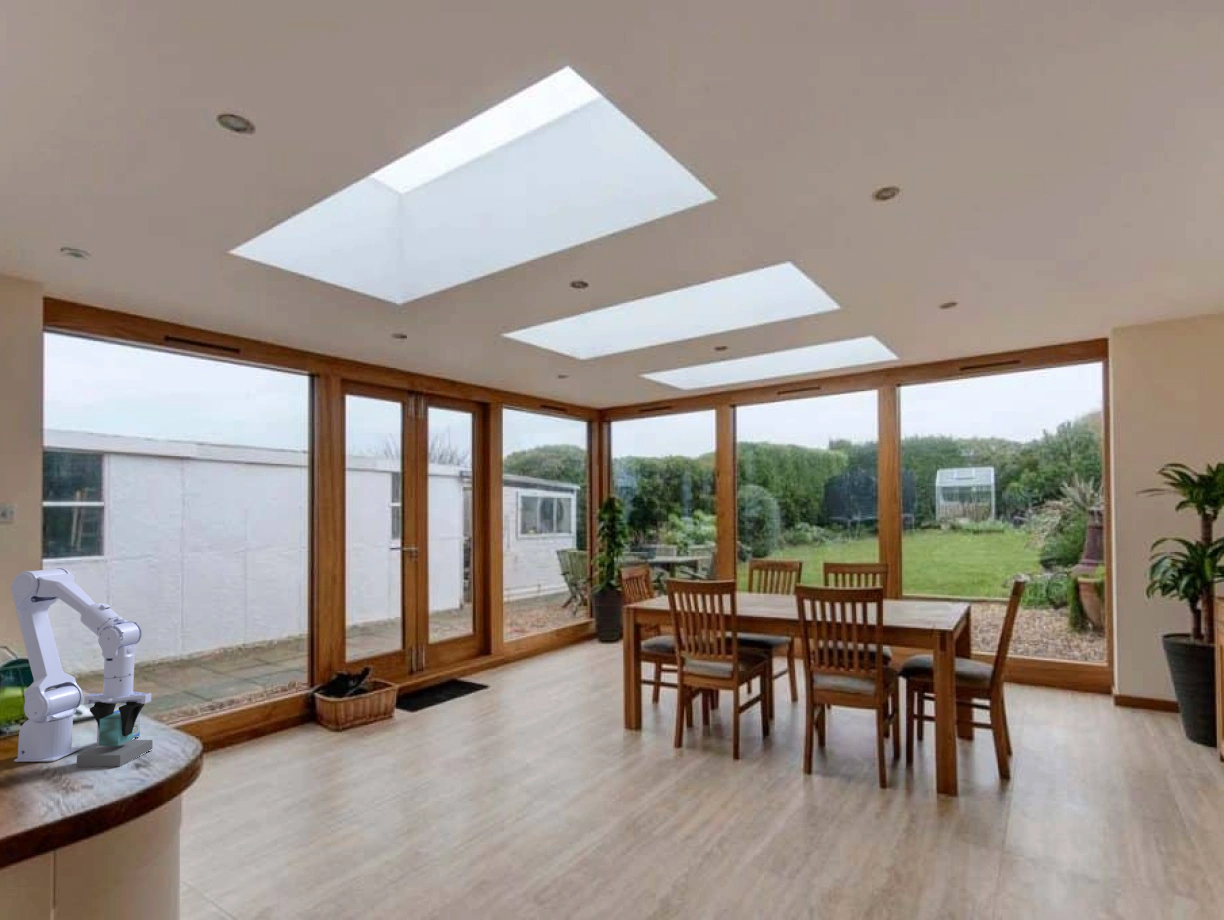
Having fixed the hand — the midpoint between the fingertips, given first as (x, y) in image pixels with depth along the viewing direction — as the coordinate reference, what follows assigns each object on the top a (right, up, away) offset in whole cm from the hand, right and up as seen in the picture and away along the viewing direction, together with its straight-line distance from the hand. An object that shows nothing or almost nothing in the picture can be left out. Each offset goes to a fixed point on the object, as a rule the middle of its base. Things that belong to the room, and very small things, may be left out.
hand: (116, 735), depth 153 cm
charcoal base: (0, -5, 0) cm, 5 cm away
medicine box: (-8, -7, +11) cm, 15 cm away
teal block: (0, -2, 0) cm, 2 cm away
